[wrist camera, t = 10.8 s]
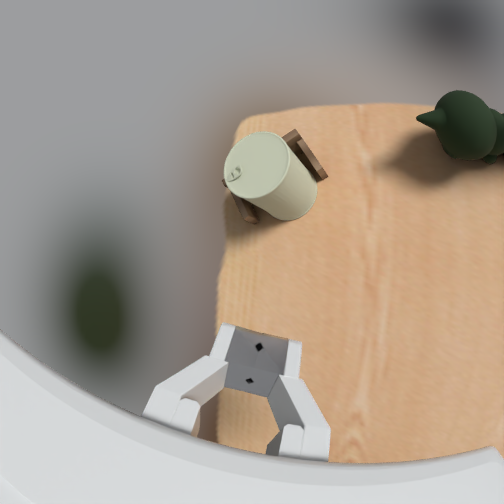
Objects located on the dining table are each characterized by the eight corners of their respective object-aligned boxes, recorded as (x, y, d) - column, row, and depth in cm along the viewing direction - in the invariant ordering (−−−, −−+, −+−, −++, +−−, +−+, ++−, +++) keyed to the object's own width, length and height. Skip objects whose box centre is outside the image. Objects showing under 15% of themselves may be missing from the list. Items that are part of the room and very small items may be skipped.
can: (255, 182, 45) (213, 153, 35) (303, 155, 42) (272, 116, 31) (274, 230, 43) (232, 211, 32) (327, 204, 39) (301, 173, 29)
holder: (328, 176, 39) (319, 163, 35) (254, 224, 45) (238, 217, 40) (305, 143, 42) (295, 128, 37) (238, 189, 47) (221, 180, 43)
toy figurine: (520, 125, 24) (402, 122, 34) (559, 59, 7) (407, 29, 17) (538, 175, 23) (416, 178, 32) (594, 121, 6) (444, 95, 15)
